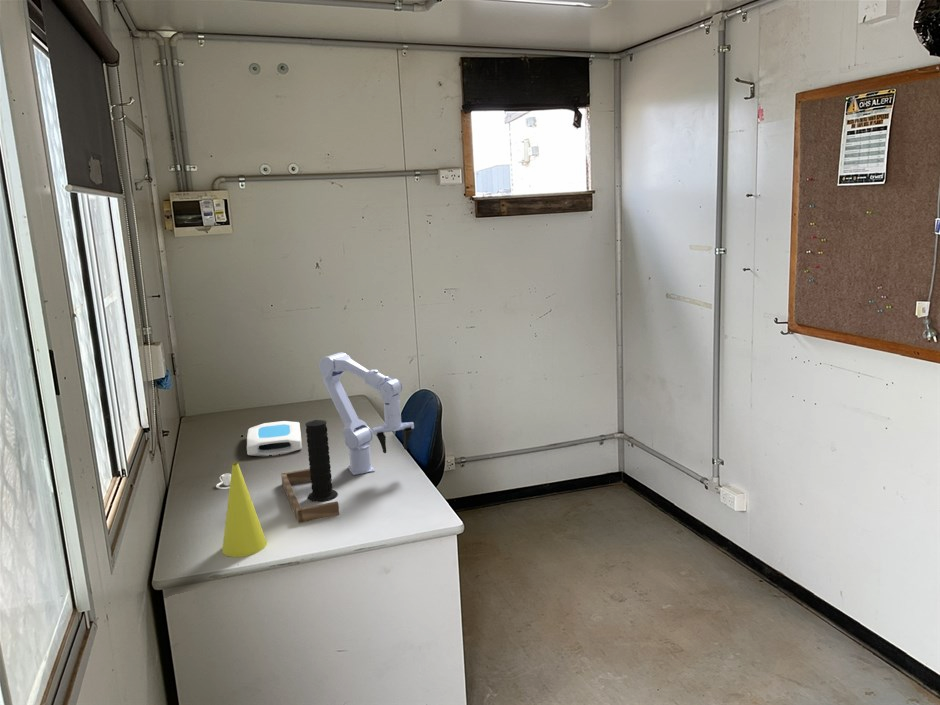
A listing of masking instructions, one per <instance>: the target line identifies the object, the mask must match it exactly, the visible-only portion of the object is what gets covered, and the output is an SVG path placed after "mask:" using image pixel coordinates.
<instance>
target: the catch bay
mask: <svg viewBox="0 0 940 705" xmlns="http://www.w3.org/2000/svg"><path fill="white" fill-rule="evenodd" d="M280 476H281V484H282V486H283V490H284V492H285V494H286V496H287V500H288V502H289V504H290V506H291V509H292V511H293V514H294V516H295V519H296V521H297V524H300V523H304V522H305V523H306V522H311V521H315V520H320V519H325V518H331V517H336V516H339V515H340V509H339V508H340V507H339V502H338V501H332V502H327V503H322V504H316V505H311V506H307V507H306V506H305V507H301V505H300V503H299V500H298V497H297V496H296V493H295V492H294V488H293V487H292V485H294V484H300V483H306V482H311V477H310V476H311V475H310V468H306V469H300V470H294V471H287V472H283V473H282V472H281V474H280Z"/></svg>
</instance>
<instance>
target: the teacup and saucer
mask: <svg viewBox="0 0 940 705" xmlns="http://www.w3.org/2000/svg"><path fill="white" fill-rule="evenodd" d="M219 480H220V482H218V483H217V484H216V485H215V487H216V488H217V489H220V490H224V489H225V490H227V489H230V481H231V473H230V472H229V473H224V474H221V475H220V476H219ZM222 484H223V486H225V487H223V486H220V485H222Z"/></svg>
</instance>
